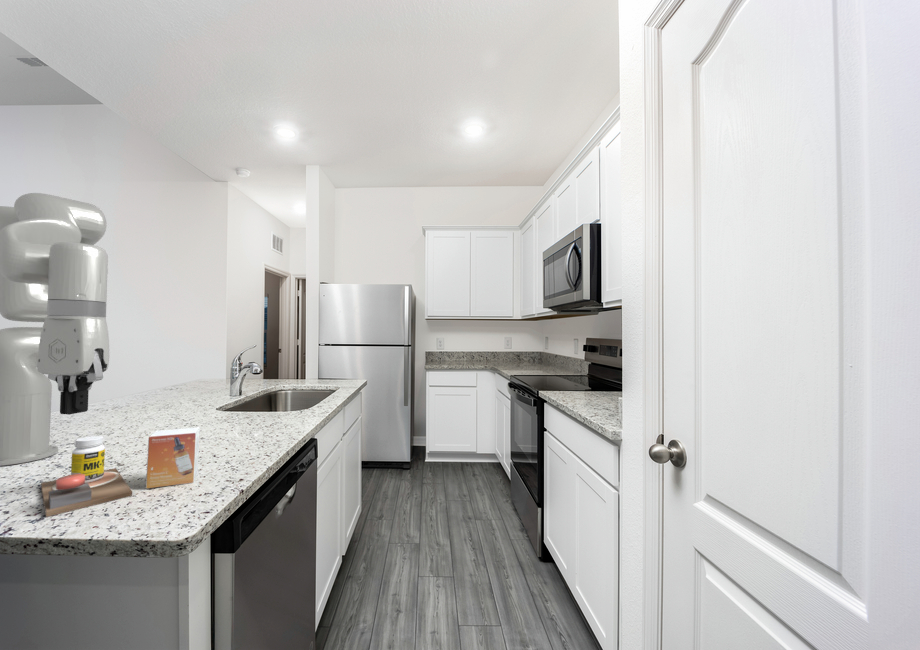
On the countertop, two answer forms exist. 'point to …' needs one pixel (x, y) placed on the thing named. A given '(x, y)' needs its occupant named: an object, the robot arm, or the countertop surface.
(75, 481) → the button
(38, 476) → the countertop surface
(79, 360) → the robot arm
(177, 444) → the small box
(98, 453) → the supplement bottle
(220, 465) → the countertop surface
